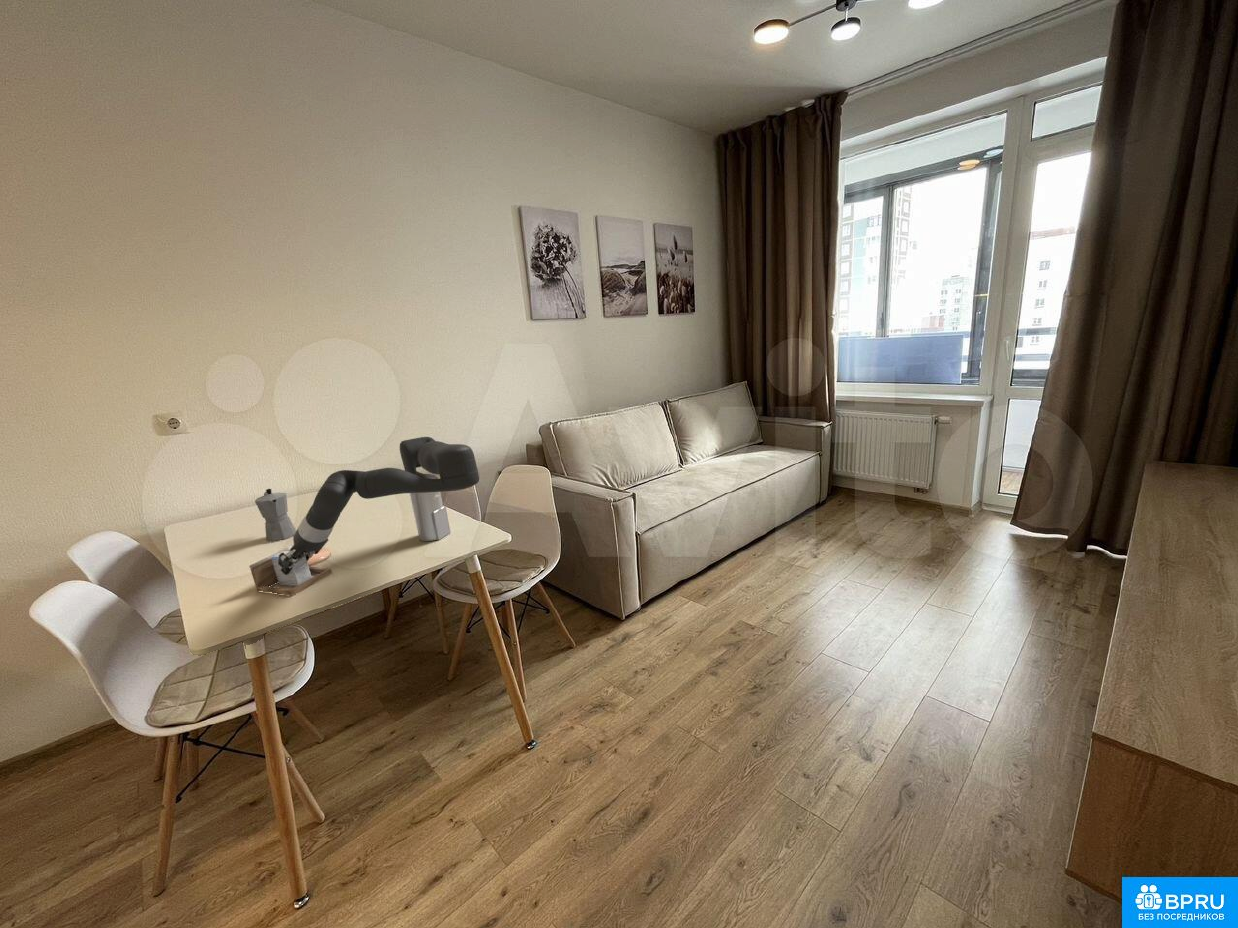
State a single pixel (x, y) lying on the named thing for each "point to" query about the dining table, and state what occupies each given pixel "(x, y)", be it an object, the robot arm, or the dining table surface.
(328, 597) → the dining table surface
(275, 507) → the coffeepot
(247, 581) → the dining table surface
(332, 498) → the robot arm
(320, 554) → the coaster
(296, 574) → the medicine box
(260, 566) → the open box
